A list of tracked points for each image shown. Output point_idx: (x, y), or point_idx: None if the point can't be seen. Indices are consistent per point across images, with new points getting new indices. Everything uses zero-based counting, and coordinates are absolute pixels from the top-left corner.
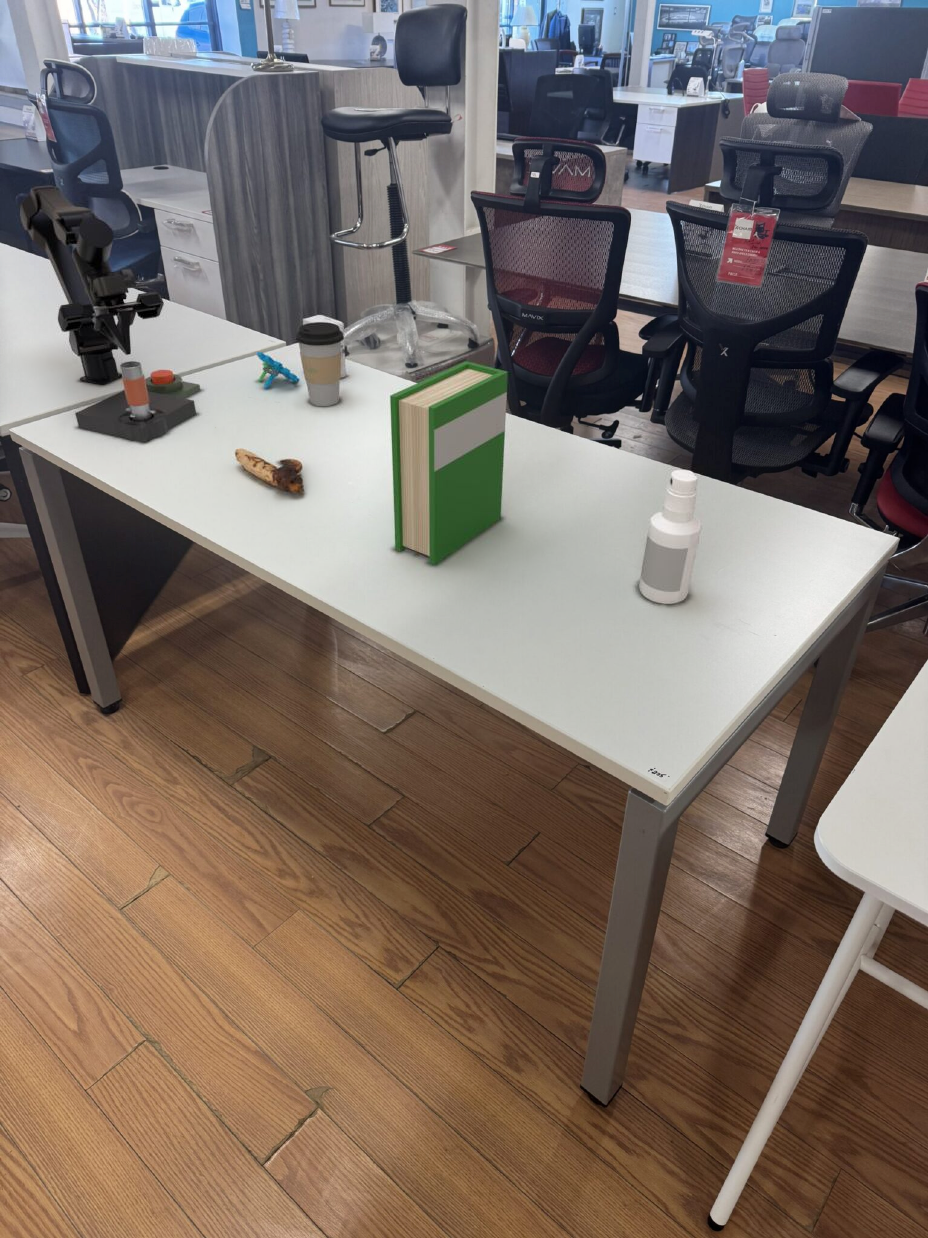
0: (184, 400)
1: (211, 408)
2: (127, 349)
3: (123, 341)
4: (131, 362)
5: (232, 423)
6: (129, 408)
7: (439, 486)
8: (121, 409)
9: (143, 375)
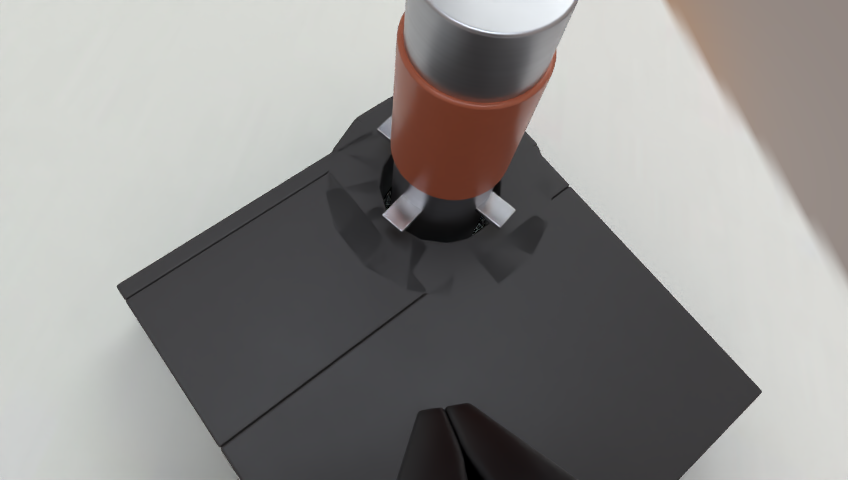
0: (165, 307)
1: (37, 364)
2: (454, 416)
3: (497, 471)
4: (480, 5)
5: (50, 136)
6: (494, 214)
7: None
8: (522, 331)
9: (403, 22)
